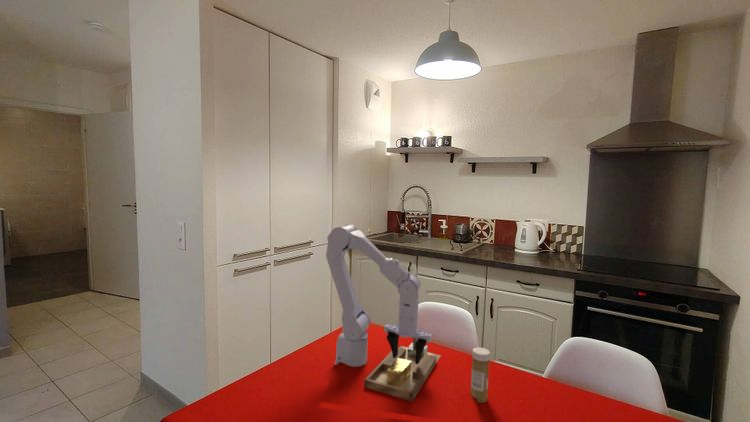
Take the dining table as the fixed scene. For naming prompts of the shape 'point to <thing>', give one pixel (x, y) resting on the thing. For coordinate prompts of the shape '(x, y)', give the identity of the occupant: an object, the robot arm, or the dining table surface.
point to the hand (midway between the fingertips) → (406, 359)
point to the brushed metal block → (412, 349)
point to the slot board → (414, 381)
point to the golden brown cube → (396, 375)
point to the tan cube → (405, 364)
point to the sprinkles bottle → (480, 374)
